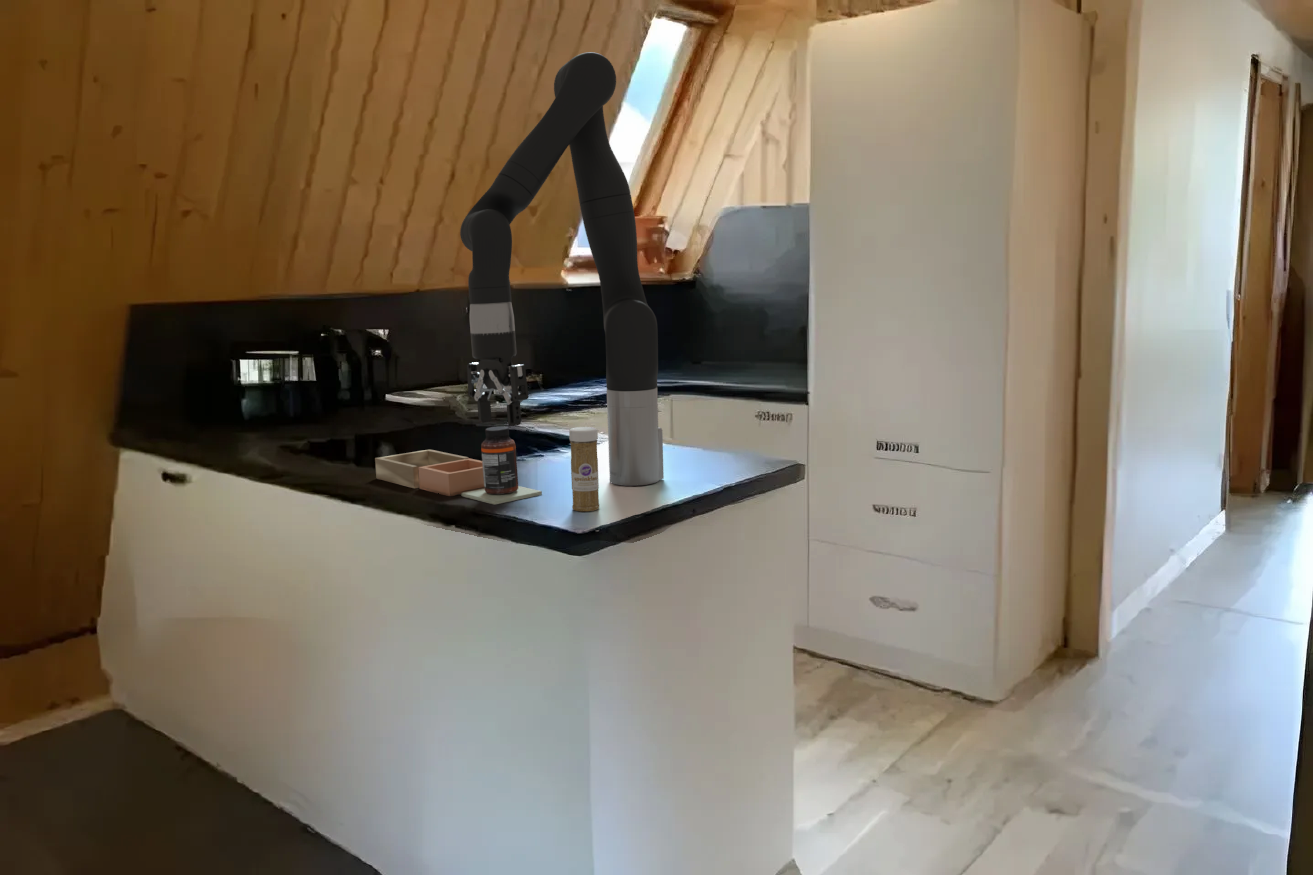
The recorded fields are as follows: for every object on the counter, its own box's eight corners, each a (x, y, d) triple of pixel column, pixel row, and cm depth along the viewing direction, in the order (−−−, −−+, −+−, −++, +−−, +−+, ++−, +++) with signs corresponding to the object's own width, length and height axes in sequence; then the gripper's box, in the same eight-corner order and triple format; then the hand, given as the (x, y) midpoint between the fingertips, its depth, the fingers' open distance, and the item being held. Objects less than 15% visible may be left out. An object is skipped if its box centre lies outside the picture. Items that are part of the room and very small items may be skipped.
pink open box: (470, 479, 194) (469, 458, 193) (501, 486, 187) (500, 464, 186) (419, 488, 186) (418, 467, 186) (449, 496, 179) (448, 474, 178)
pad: (508, 486, 186) (508, 483, 186) (541, 494, 179) (541, 491, 179) (461, 496, 179) (461, 492, 179) (494, 504, 172) (494, 501, 172)
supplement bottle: (502, 487, 183) (498, 424, 181) (525, 490, 179) (521, 426, 178) (477, 493, 178) (472, 429, 177) (500, 496, 175) (496, 431, 173)
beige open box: (430, 468, 205) (429, 449, 204) (469, 477, 195) (468, 457, 194) (376, 478, 197) (375, 458, 196) (414, 488, 187) (412, 466, 186)
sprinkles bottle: (577, 513, 164) (574, 431, 162) (568, 507, 168) (565, 427, 166) (604, 510, 166) (601, 428, 164) (594, 504, 170) (591, 425, 168)
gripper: (535, 328, 171) (542, 423, 174) (486, 327, 182) (493, 417, 184) (499, 332, 166) (506, 430, 169) (450, 331, 176) (458, 423, 179)
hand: (499, 423), depth 177 cm, fingers open, 8 cm apart
